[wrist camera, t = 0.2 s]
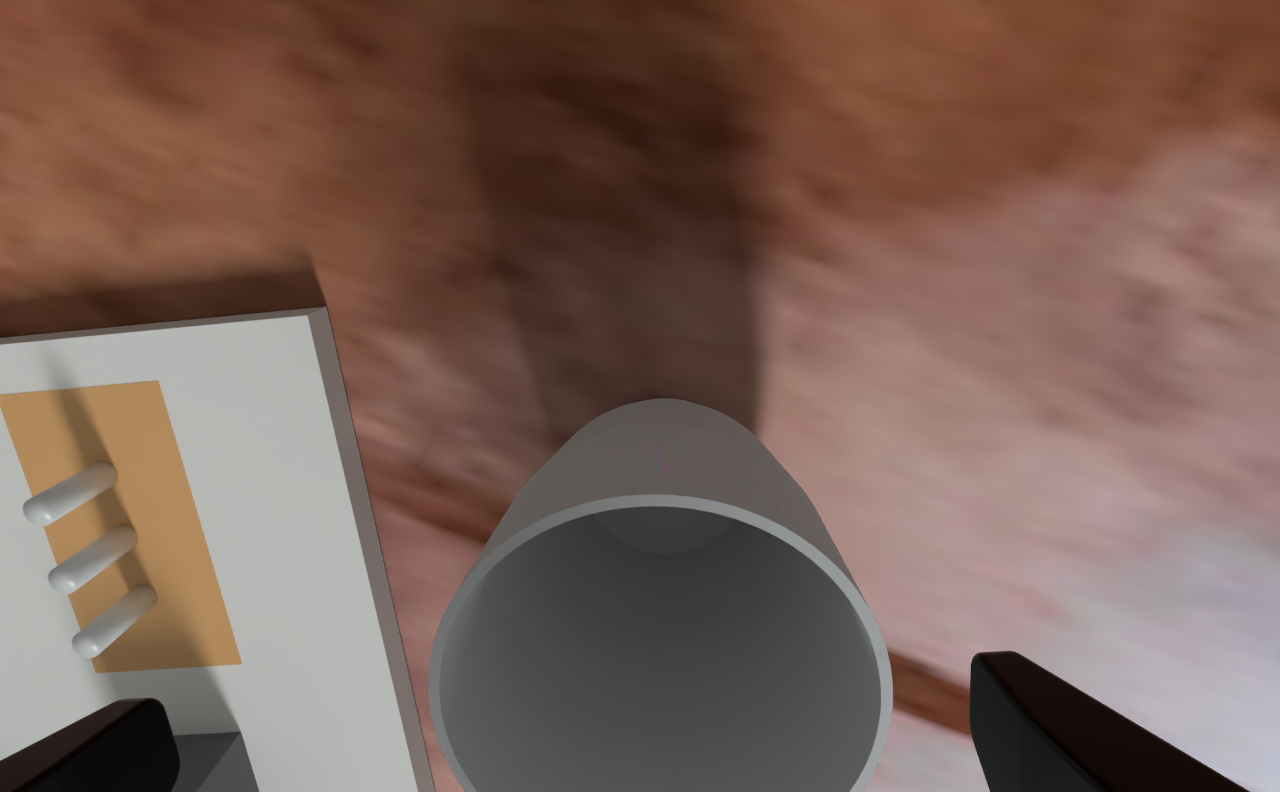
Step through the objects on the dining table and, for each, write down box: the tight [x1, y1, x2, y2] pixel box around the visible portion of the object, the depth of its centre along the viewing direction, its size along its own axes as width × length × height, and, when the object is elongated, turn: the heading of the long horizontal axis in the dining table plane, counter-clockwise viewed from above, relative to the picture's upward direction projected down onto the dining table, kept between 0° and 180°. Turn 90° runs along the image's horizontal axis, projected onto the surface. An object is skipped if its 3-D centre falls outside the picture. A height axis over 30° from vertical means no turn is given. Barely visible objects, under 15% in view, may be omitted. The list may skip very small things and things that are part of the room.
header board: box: [0, 307, 435, 792], centre depth 24 cm, size 22×14×4 cm, turn 6°
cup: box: [428, 398, 893, 792], centre depth 19 cm, size 8×8×10 cm
